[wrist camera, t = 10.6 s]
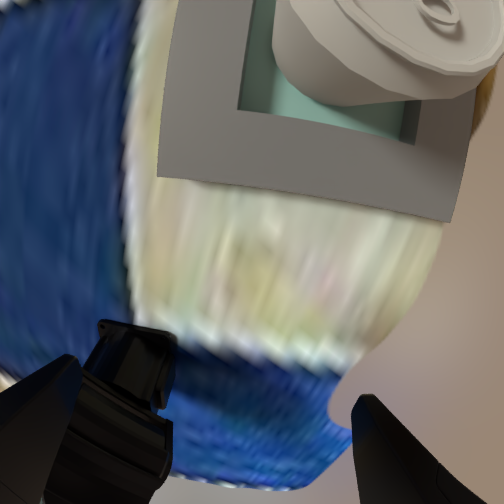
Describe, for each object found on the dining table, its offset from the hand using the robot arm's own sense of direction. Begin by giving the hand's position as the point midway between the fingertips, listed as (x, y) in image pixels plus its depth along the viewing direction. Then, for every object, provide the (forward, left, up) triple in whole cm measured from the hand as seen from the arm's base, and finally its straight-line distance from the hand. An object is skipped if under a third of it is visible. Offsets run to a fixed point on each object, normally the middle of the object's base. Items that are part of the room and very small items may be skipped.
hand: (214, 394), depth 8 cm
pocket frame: (+4, +13, -13) cm, 19 cm away
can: (+4, +13, -13) cm, 18 cm away
